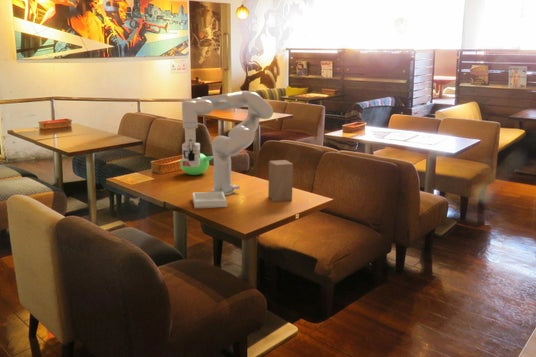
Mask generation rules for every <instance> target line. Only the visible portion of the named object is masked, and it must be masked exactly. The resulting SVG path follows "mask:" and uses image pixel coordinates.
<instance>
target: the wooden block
mask: <svg viewBox="0 0 536 357" xmlns="http://www.w3.org/2000/svg"><path fill="white" fill-rule="evenodd" d="M293 175H294V164H293V163H292V162H290V161H289V160H288V159H287V160H286V159H278V160H277V159H276V160H269V161H268V192H267V193H268V198H270V199H271V200H272V201H273V202H274V203H276V202H287V201H292V200H293V183H294V182H293V181H294V179H293V178H294V176H293Z"/></svg>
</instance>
